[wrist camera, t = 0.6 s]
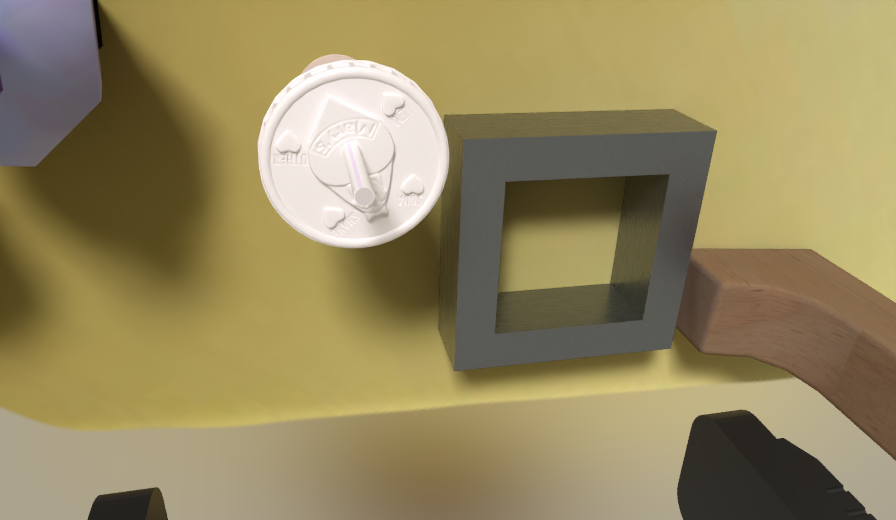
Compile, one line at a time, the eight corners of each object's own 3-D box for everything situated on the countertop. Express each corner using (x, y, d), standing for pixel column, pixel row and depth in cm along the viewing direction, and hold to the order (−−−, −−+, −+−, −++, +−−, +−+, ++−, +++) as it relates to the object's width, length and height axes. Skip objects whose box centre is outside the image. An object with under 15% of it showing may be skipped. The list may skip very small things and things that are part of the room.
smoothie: (377, 0, 29) (444, 60, 17) (425, 134, 32) (510, 266, 20) (238, 53, 29) (205, 152, 17) (300, 183, 32) (310, 346, 20)
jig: (673, 109, 35) (717, 130, 31) (637, 310, 40) (670, 348, 36) (444, 115, 32) (463, 139, 29) (438, 328, 38) (454, 371, 34)
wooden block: (659, 313, 40) (896, 565, 25) (678, 245, 39) (948, 472, 23) (787, 311, 43) (1081, 541, 27) (811, 246, 41) (1143, 454, 25)
